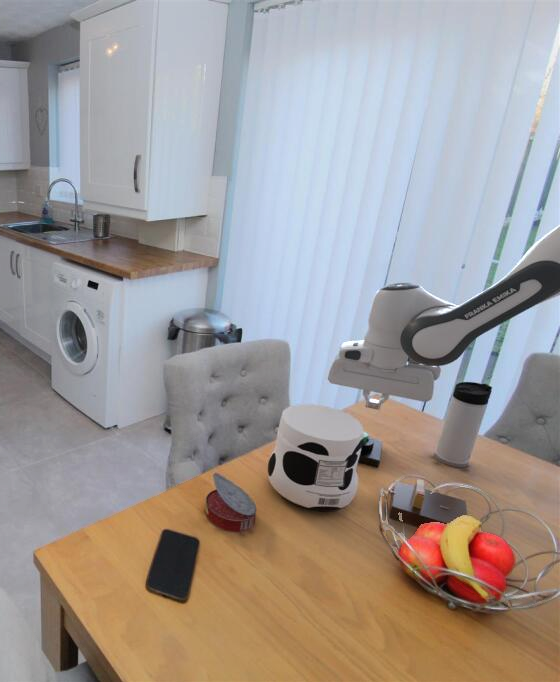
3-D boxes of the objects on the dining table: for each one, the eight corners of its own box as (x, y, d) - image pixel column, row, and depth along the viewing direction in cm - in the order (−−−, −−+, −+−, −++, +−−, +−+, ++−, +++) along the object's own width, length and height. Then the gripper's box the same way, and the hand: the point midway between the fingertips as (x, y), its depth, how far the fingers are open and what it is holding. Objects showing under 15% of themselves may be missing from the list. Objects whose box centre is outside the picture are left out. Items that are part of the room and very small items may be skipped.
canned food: (217, 515, 107) (230, 472, 107) (259, 537, 99) (273, 491, 99) (187, 514, 100) (201, 469, 100) (230, 538, 92) (245, 489, 92)
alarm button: (367, 438, 119) (369, 432, 118) (366, 444, 116) (367, 438, 116) (350, 433, 121) (352, 427, 120) (349, 440, 118) (350, 434, 118)
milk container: (293, 459, 118) (304, 394, 111) (368, 497, 104) (387, 425, 98) (249, 486, 109) (259, 416, 103) (325, 531, 95) (342, 454, 89)
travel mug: (475, 467, 112) (501, 391, 105) (447, 468, 112) (471, 392, 105) (455, 452, 118) (478, 379, 111) (427, 453, 118) (449, 380, 111)
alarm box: (380, 448, 121) (384, 434, 119) (377, 468, 113) (381, 454, 112) (335, 436, 126) (338, 423, 125) (329, 455, 119) (332, 441, 117)
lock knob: (413, 490, 101) (416, 477, 100) (421, 492, 100) (425, 480, 99) (412, 506, 97) (416, 493, 96) (421, 509, 96) (425, 496, 95)
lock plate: (461, 512, 99) (465, 499, 98) (464, 542, 91) (469, 529, 90) (385, 489, 106) (388, 477, 105) (382, 516, 99) (385, 503, 98)
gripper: (442, 357, 105) (427, 413, 110) (335, 341, 117) (326, 392, 121) (443, 367, 100) (427, 425, 105) (332, 349, 112) (322, 402, 117)
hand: (372, 407), depth 113 cm, fingers closed
